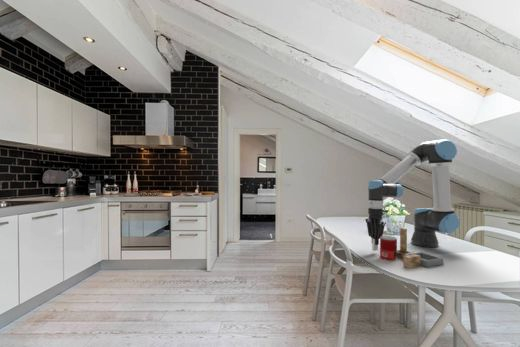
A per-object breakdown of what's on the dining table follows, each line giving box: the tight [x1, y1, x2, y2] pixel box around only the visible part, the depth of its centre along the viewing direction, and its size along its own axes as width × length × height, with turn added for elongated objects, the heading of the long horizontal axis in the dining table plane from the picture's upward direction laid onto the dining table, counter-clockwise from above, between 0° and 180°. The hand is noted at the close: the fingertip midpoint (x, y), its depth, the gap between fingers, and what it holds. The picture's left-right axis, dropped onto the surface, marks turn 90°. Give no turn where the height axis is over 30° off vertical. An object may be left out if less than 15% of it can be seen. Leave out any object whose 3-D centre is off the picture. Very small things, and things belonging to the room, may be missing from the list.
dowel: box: [399, 227, 408, 253], centre depth 152 cm, size 3×3×15 cm
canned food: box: [379, 235, 398, 261], centre depth 149 cm, size 8×8×11 cm
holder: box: [397, 249, 414, 260], centre depth 152 cm, size 8×8×2 cm
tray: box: [405, 251, 444, 268], centre depth 142 cm, size 12×12×3 cm
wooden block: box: [402, 254, 421, 269], centre depth 136 cm, size 8×3×5 cm, turn 114°
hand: (375, 250), depth 157 cm, fingers closed
